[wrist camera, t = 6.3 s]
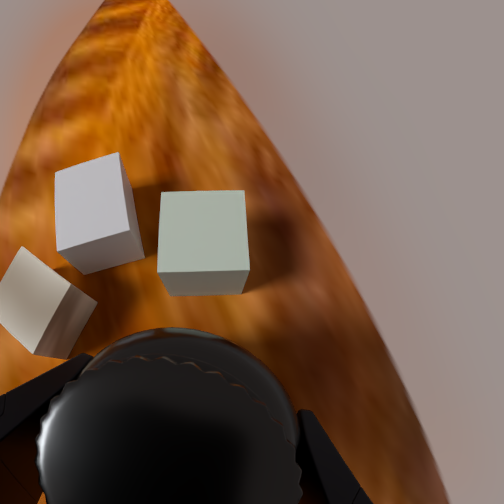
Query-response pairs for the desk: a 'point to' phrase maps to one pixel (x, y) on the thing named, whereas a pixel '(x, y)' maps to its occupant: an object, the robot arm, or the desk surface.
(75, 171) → the grey plastic block
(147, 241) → the desk surface
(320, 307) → the desk surface
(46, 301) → the birch block
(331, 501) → the robot arm
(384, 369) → the desk surface
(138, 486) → the supplement bottle
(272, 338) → the desk surface
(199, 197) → the sage block
